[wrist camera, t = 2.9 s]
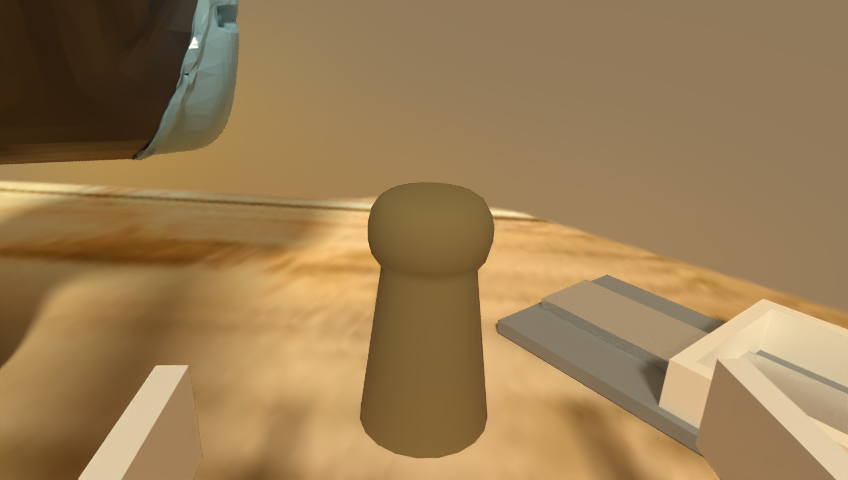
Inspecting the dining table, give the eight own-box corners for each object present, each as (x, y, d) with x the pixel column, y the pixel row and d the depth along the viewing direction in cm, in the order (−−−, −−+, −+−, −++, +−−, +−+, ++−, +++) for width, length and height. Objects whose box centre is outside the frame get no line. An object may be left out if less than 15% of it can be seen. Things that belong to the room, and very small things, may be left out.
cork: (429, 481, 22) (441, 226, 18) (333, 412, 26) (324, 187, 22) (512, 410, 26) (537, 190, 22) (419, 359, 30) (425, 163, 26)
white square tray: (658, 405, 26) (669, 359, 25) (751, 338, 32) (763, 298, 31) (932, 562, 19) (963, 505, 18) (987, 438, 24) (1012, 389, 24)
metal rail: (540, 308, 34) (541, 298, 34) (584, 289, 37) (586, 279, 37) (1093, 595, 18) (1103, 579, 17) (1101, 523, 20) (1111, 509, 20)
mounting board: (497, 331, 33) (498, 320, 33) (605, 284, 39) (607, 274, 39) (1096, 693, 16) (1111, 676, 15) (1115, 505, 22) (1125, 490, 22)
